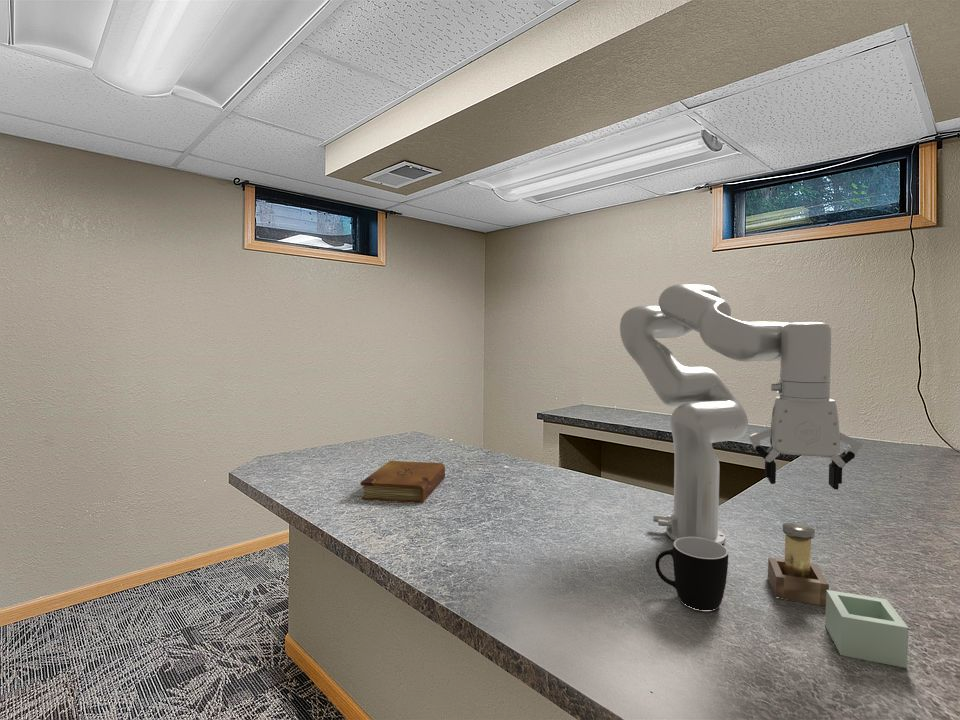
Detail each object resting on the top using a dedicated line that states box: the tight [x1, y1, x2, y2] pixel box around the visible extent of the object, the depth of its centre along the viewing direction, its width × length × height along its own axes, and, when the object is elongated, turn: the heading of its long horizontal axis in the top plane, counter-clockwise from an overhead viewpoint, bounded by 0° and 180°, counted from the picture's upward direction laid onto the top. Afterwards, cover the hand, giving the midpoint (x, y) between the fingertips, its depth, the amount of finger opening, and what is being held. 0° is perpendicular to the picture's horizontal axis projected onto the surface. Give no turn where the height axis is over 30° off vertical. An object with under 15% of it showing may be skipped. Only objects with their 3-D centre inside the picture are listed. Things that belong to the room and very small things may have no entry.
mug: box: [654, 537, 729, 610], centre depth 90 cm, size 12×9×10 cm
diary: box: [360, 460, 446, 504], centre depth 153 cm, size 23×19×6 cm
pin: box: [782, 522, 816, 579], centre depth 92 cm, size 5×5×12 cm
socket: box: [824, 589, 910, 669], centre depth 77 cm, size 8×8×6 cm
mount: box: [767, 556, 830, 607], centre depth 92 cm, size 8×8×4 cm
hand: (801, 484), depth 91 cm, fingers open, 9 cm apart
